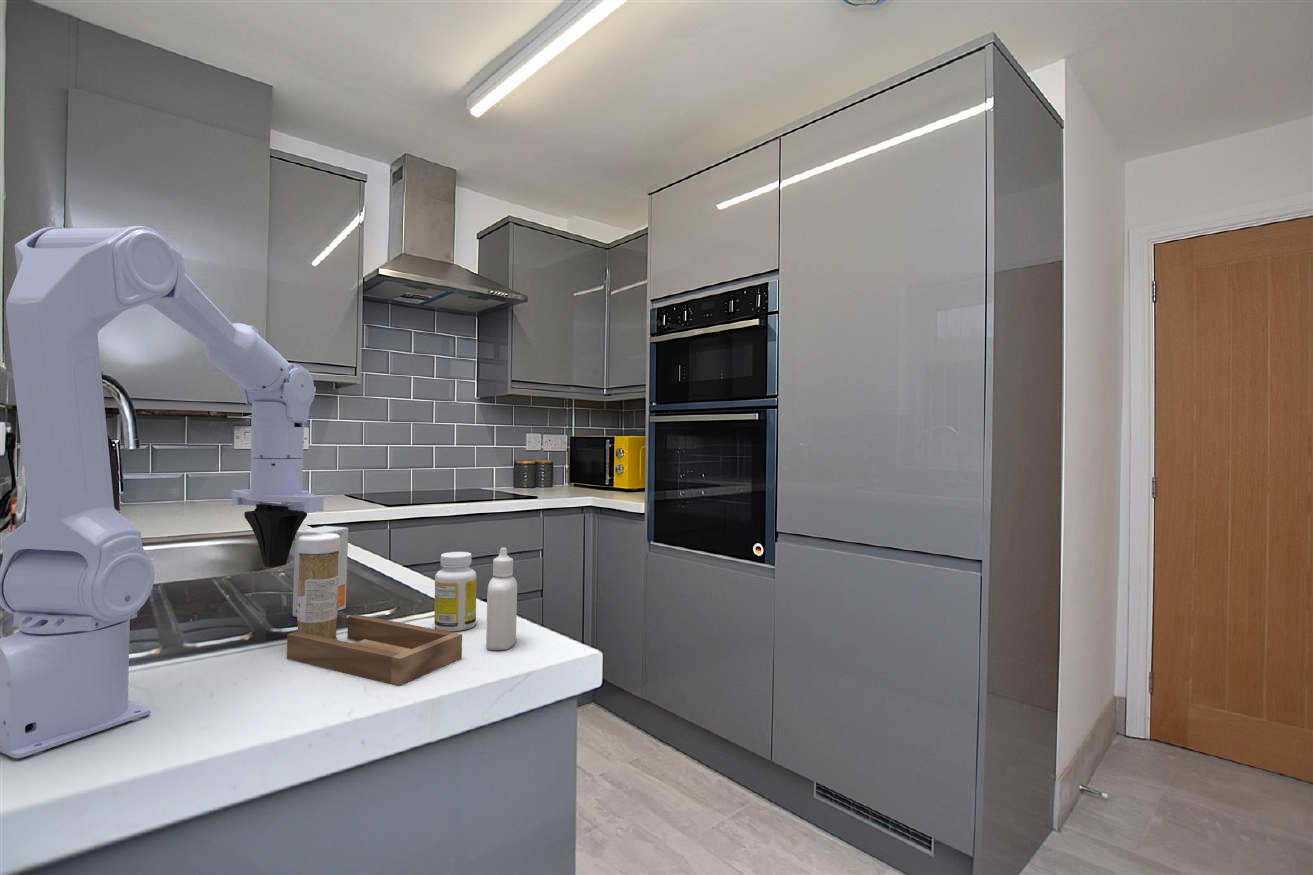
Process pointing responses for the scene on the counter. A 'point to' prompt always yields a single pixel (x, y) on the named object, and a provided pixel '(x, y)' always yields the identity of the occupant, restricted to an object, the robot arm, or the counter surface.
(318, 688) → the counter surface
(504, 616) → the eye dropper bottle
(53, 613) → the robot arm
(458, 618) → the supplement bottle
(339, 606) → the skincare box
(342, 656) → the wooden tray
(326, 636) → the sprinkles bottle
